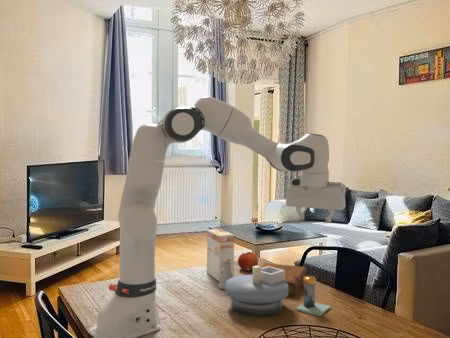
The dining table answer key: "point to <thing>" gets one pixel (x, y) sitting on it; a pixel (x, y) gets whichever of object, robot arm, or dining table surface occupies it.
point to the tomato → (247, 261)
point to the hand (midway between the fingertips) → (314, 221)
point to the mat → (314, 309)
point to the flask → (225, 275)
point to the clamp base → (256, 308)
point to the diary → (291, 276)
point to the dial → (258, 286)
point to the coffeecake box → (219, 252)
